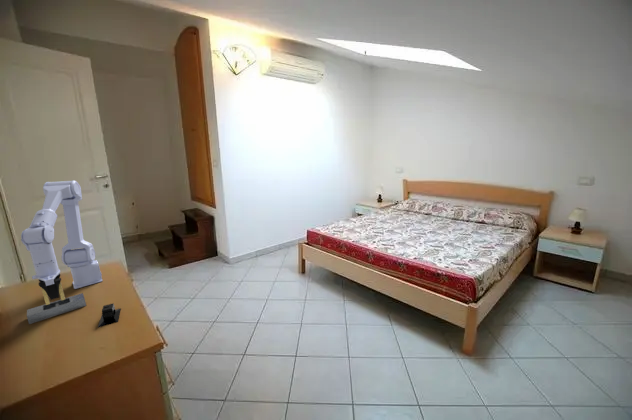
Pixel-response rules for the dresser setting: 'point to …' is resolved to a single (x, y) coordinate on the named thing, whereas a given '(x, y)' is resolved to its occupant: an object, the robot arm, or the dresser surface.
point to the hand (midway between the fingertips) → (54, 296)
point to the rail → (55, 308)
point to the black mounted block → (109, 315)
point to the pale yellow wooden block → (48, 297)
